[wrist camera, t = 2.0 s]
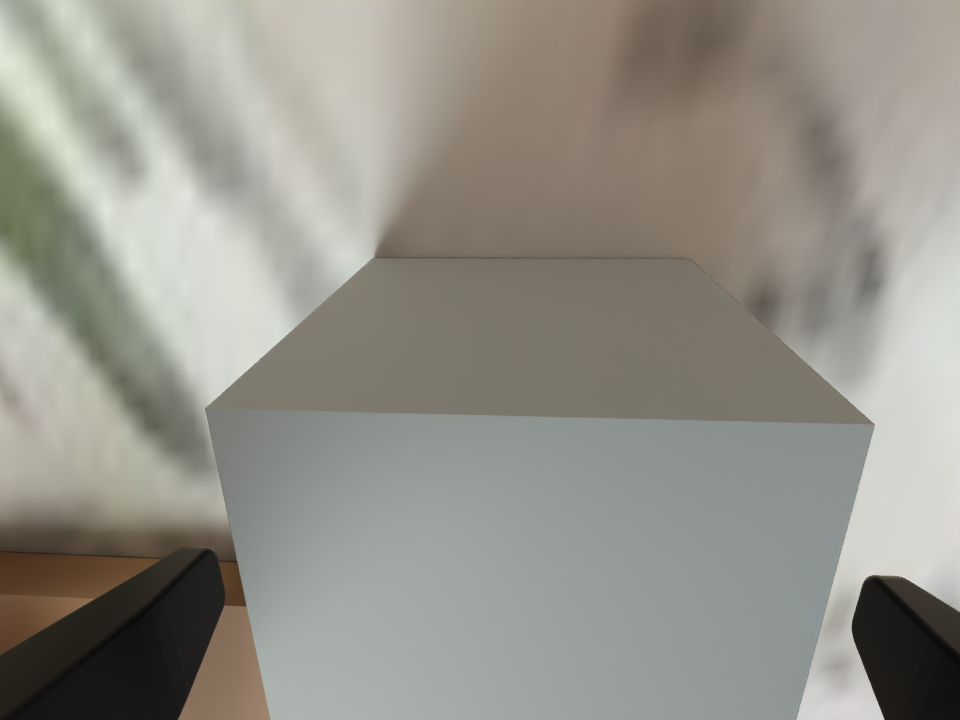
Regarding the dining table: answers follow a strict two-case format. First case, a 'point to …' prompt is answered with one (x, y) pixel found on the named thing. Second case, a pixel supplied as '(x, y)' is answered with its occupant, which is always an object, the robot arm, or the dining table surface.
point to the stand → (80, 579)
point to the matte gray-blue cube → (535, 497)
